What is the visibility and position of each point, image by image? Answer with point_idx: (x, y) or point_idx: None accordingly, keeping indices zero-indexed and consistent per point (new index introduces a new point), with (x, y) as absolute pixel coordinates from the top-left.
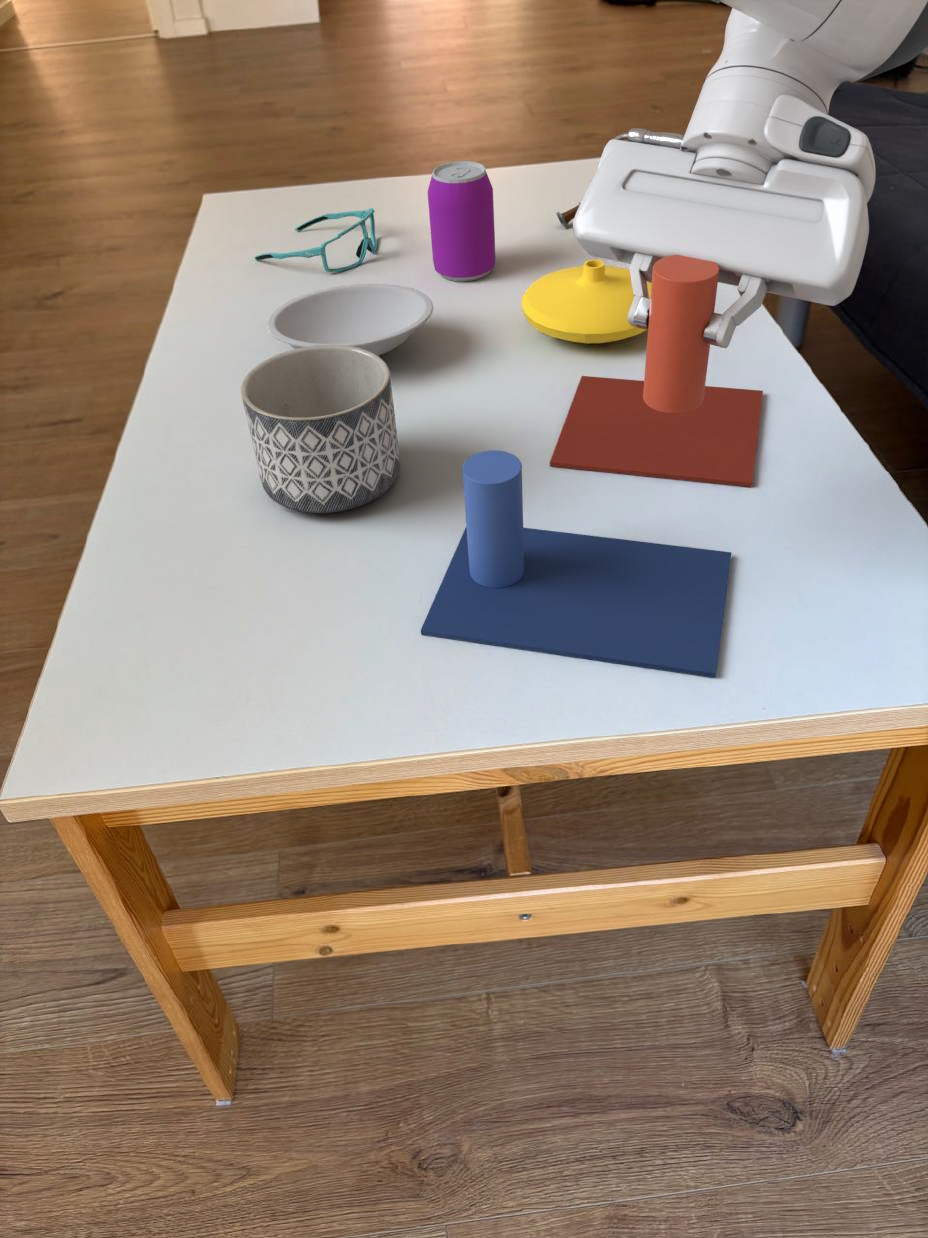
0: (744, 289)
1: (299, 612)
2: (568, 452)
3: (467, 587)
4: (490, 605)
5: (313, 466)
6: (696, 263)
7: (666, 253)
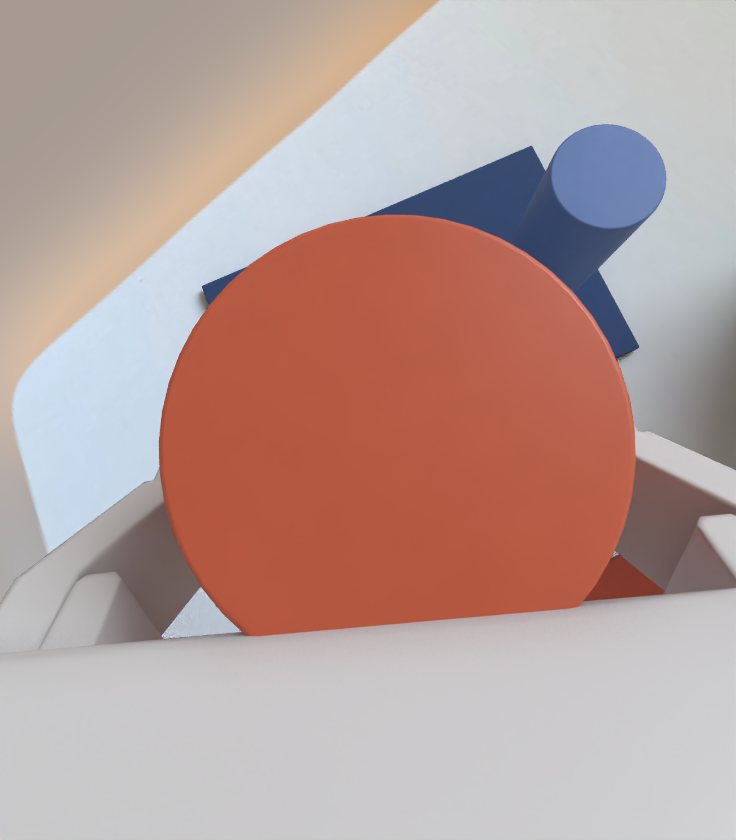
0: (75, 583)
1: (681, 95)
2: (636, 589)
3: None
4: (491, 226)
5: None
6: (358, 535)
7: (660, 595)
